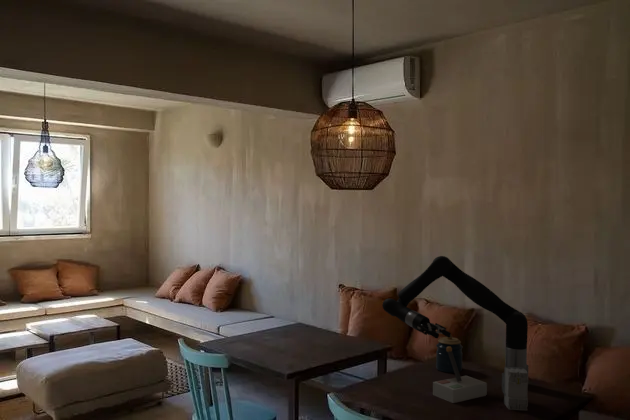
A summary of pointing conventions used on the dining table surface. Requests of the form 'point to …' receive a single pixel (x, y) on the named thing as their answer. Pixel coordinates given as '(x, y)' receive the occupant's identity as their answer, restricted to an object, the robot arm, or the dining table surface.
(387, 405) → the dining table surface
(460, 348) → the canister
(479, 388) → the box
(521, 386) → the circuit breaker
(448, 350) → the breaker lever
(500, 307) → the robot arm
